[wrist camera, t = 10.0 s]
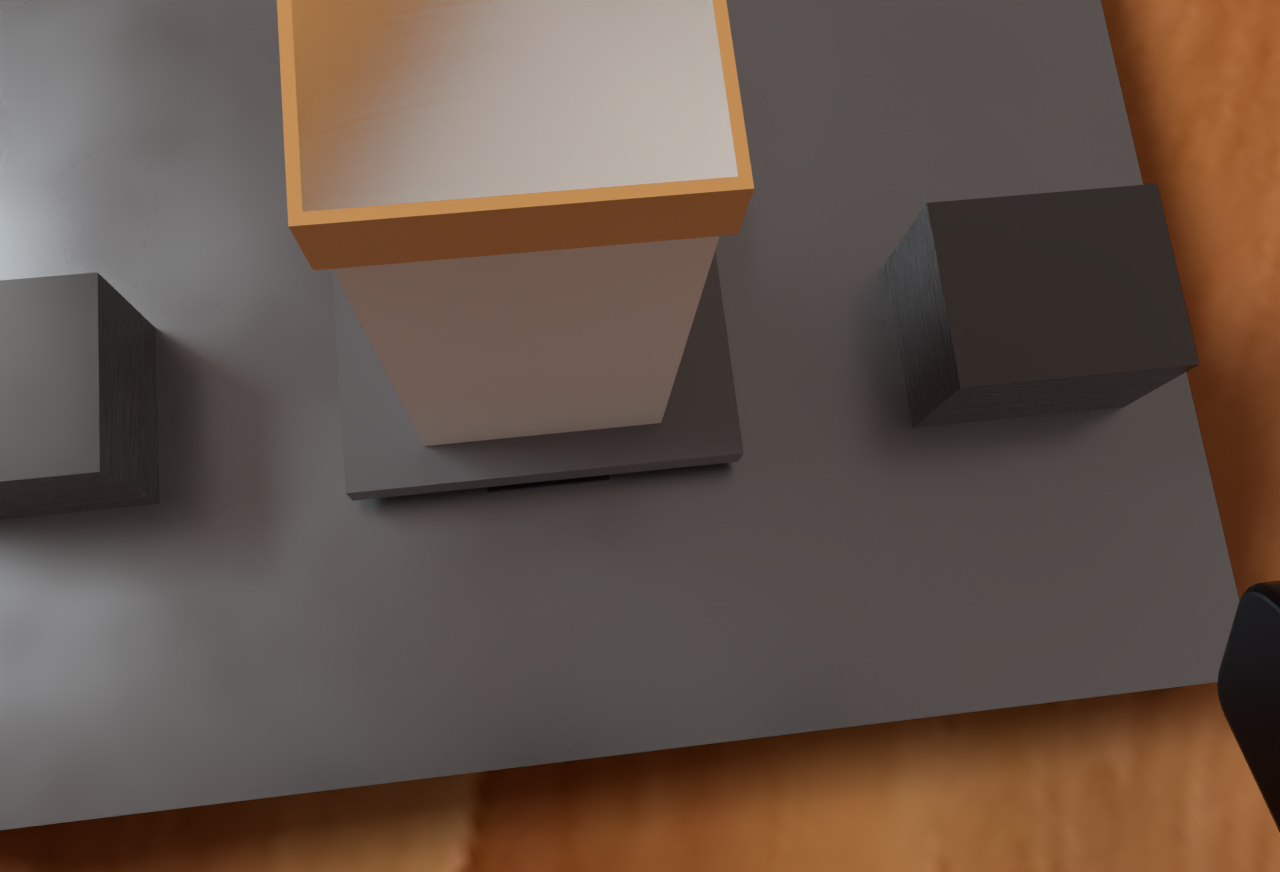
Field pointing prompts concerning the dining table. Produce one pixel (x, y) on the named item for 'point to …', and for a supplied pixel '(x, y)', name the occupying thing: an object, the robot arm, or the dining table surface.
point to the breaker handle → (519, 232)
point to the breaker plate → (599, 505)
